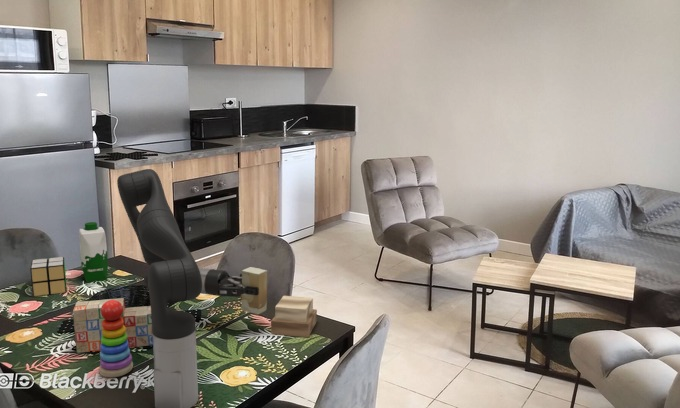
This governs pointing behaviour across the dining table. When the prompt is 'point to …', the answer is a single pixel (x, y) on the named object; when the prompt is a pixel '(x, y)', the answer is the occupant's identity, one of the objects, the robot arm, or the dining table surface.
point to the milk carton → (93, 252)
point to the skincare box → (255, 279)
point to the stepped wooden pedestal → (294, 317)
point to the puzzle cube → (48, 276)
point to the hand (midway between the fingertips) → (262, 288)
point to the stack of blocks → (91, 327)
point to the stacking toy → (114, 342)
